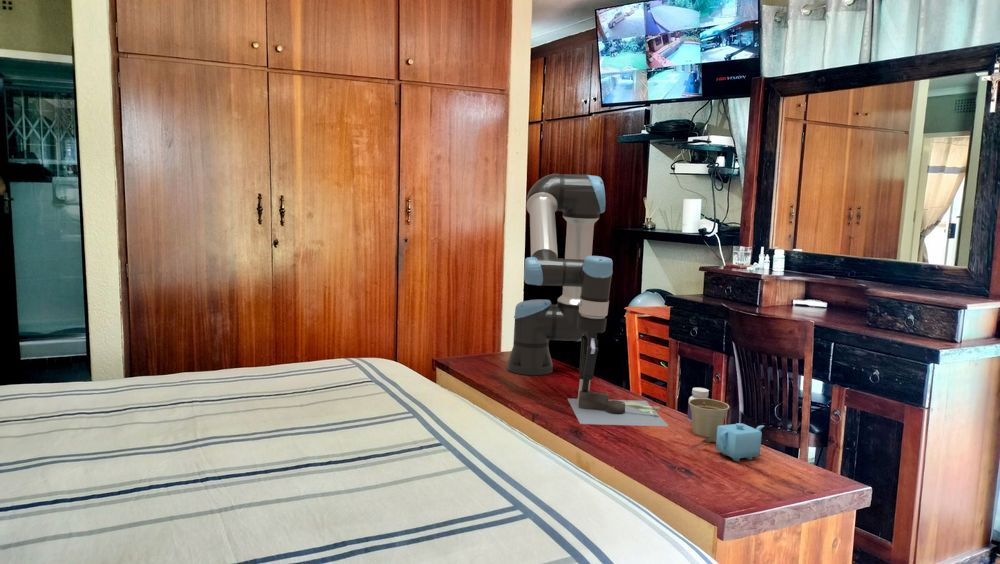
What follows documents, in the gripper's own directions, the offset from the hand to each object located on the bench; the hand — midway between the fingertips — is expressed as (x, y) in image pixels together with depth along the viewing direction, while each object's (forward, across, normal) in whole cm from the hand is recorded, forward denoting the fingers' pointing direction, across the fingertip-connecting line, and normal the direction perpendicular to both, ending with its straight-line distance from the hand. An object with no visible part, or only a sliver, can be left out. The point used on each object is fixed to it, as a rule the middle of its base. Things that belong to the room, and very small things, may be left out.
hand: (582, 401), depth 180 cm
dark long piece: (+1, +4, +8) cm, 9 cm away
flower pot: (+1, +19, +27) cm, 33 cm away
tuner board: (+2, +4, +8) cm, 9 cm away
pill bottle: (+1, +10, +28) cm, 30 cm away
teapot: (0, +30, +31) cm, 43 cm away
